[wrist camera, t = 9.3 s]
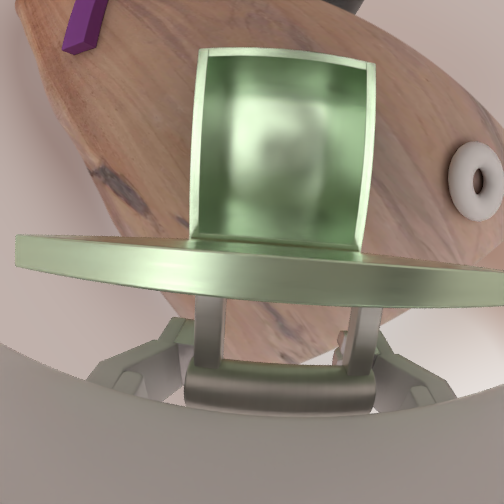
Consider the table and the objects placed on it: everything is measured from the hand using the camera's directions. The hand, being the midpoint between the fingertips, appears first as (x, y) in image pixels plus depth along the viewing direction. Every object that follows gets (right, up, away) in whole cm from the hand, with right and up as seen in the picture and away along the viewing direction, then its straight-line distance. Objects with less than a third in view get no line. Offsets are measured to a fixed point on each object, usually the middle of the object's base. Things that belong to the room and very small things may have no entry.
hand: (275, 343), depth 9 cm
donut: (+27, +12, +16) cm, 34 cm away
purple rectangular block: (-23, +34, +13) cm, 42 cm away
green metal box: (+2, +14, +18) cm, 22 cm away
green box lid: (+1, +3, +3) cm, 5 cm away
